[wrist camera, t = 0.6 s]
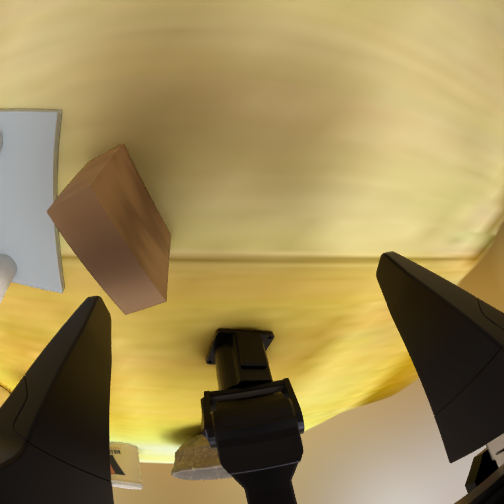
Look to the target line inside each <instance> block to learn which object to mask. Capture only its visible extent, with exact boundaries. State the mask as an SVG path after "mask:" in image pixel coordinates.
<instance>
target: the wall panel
mask: <svg viewBox="0 0 504 504" xmlns="http://www.w3.org/2000/svg"><path fill="white" fill-rule="evenodd" d="M61 116H62V110H46V109H0V303H1V301H2V299H3V297H4V295H5V293H6V291H7V289H8V287H9V285H10V283H11V282H14V283H18V284H22V285H26V286H31V287H35V288H40V289H44V290H49V291H54V292H59V293H63V291H64V288H65V285H64V278H63V271H62V263H61V255H60V244H59V232H58V229H57V227H56V226H55V224H54V223H53V221H52V220H51V218H50V217H49V215H48V214H47V212H46V211H47V210H48V209H49V208H50V206H51V205H52V204H53V202H54V201H55V200H56V199H57V165H58V147H59V135H60V125H61Z"/></svg>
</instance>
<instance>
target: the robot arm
mask: <svg viewBox="0 0 504 504" xmlns="http://www.w3.org/2000/svg"><path fill="white" fill-rule="evenodd" d="M376 277H377V280H378V283H379V285H380V288H381V290H382V293H383V295H384V298H385V301H386V303H387V306H388V309H389V311H390V314H391V316H392V318H393V320H394V322H395V325H396V327H397V329H398V331H399V333H400V335H401V337H402V339H403V341H404V344H405V346H406V348H407V350H408V352H409V355H410V357H411V359H412V362H413V364H414V366H415V368H416V371H417V373H418V376H419V378H420V380H421V383H422V385H423V388H424V390H425V393H426V395H427V398H428V400H429V403H430V406H431V408H432V411H433V414H434V415H435V416H434V417H435V420H436V423H437V425H438V428H439V431H440V434H441V437H442V440H443V443H444V446H445V449H446V453H447V456H448V459H449V462H450V463H453V462H455V461H457V460H459V459H461V458H462V457H464V456H466V455H468V454H470V453H472V452H474V451H475V450H477V449H479V448H481V447H482V446H484V445H486V446H487V448H485V449H484V450H483V451H482V452H480V453H479V454H478V455H477V456H475V457H474V459H473V462H472V465H471V469H470V472H469V475H468V478H467V481H466V484H465V487H466V490H467V492H468V494H467V495H466V496H464V497H463V498H462V499H460V500H459V501H458V502H456V503H454V504H504V313H503V312H501V311H499V310H497V309H495V308H494V307H492V306H490V305H489V304H487V303H485V302H484V301H482V300H480V299H479V298H476V297H475V296H474V295H472V294H470V293H468V292H467V291H465V290H463V289H461V288H460V287H458V286H456V285H455V284H453V283H451V282H449V281H448V280H446V279H444V278H442V277H440V276H439V275H437V274H435V273H433V272H431V271H429V270H428V269H426V268H424V267H422V266H420V265H418V264H416V263H415V262H413V261H411V260H409V259H407V258H405V257H403V256H401V255H399V254H397V253H395V252H393V251H391V252H385V253H383V254H382V255H381V257H380V261H379V264H378V268H377V272H376ZM273 338H274V335H273V333H272V332H257V331H240V330H226V329H219V330H217V331H216V334H215V336H214V339H213V342H212V344H211V347H210V350H209V352H208V355H207V358H206V363H207V364H215V365H216V372H217V380H218V387H219V390H218V391H204V397H203V398H202V399H201V407H202V422H201V434H202V436H204V437H205V438H206V439H207V440H208V443H209V444H210V447H211V449H217V451H218V456H219V461H220V464H221V465H222V467H223V468H224V469H225V470H226V471H227V472H228V473H229V474H230V475H231V476H232V477H233V478H234V479H235V480H236V481H237V482H238V483H239V484H240V485H241V486H242V487H243V488H244V489H245V493H246V498H247V502H248V504H297V502H296V498H295V494H294V490H293V485H292V481H291V480H292V477H293V475H294V472H295V470H296V467H297V465H298V462H300V461H301V458H302V454H303V445H302V441H301V437H300V434H303V433H304V421H303V416H302V412H301V408H300V406H299V403H298V401H297V398H296V396H295V393H294V391H293V388H292V386H291V383H290V381H289V378H284V379H283V380H279V381H274V382H273V380H272V376H271V372H270V368H269V363H268V359H267V355H266V352H265V351H266V350H267V348H268V346H269V345H270V343H271V342H272V340H273ZM111 364H112V355H111V316H110V313H109V311H108V309H107V307H106V306H105V304H104V302H103V300H102V298H101V297H100V296H92V297H88V298H87V299H86V300H85V301H84V302H83V303H82V304H81V305H80V307H79V308H78V309H77V310H76V311H75V312H74V313H73V315H72V316H71V317H70V318H69V319H68V320H67V322H66V323H65V324H64V325H63V326H62V328H61V329H60V330H59V331H58V332H57V334H56V335H55V336H54V337H53V339H52V340H51V341H50V342H49V344H48V345H47V346H46V347H45V349H44V350H43V351H42V352H41V354H40V355H39V356H38V358H37V359H36V360H35V362H34V363H33V364H32V366H31V367H30V368H29V370H28V371H27V372H26V374H25V376H23V378H22V379H21V380H20V382H19V383H18V385H17V386H16V387H15V389H14V390H13V391H12V393H11V394H10V396H9V397H8V398H7V399H6V401H5V402H4V403H3V405H2V406H1V407H0V504H114V501H113V491H112V482H111V468H110V446H109V404H110V381H111Z"/></svg>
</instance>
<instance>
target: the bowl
mask: <svg viewBox="0 0 504 504" xmlns="http://www.w3.org/2000/svg"><path fill="white" fill-rule="evenodd" d="M171 475H172V476H173V477H175V478H179V479H187V480H211V479H219V478H220V479H222V478H230V477H232V476H231V475H230V474H229V473H228V472H227V471H226V470H225V469H224V468H223V467H222V465H221V464H220V461H219V456H218V451H217V449H211V447H210V444H209V443H208V440H207V439H206V438H205V437H204V436H202V434H199V435H196V436H194V437H192V438H189V439H188V440H187V441H186V442H185V443H184V444H183V445H182V446H181V447H180V448H179V449H178V450H177V451H176V452H175V462H174V467H173V469H172V473H171Z"/></svg>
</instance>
